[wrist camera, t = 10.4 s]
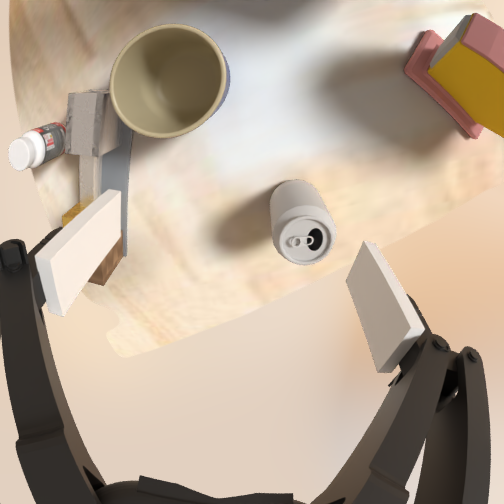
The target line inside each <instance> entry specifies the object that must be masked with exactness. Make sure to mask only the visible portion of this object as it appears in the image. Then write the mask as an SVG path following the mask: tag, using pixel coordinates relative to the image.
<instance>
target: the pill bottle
mask: <svg viewBox="0 0 504 504" xmlns="http://www.w3.org/2000/svg"><path fill="white" fill-rule="evenodd" d="M65 139H66V127H65V126H64V125H63V124H61V123H58V122H55V123H51V124H48V125H45V126H42V127H39V128H36V129H33V130H30V131H27V132H26V133H24V134H23V135H22V137H20V138H18V139H15V140H14V141H13V142H12V143H11V144H10V147H9V152H8V156H9V161H10V163H11V165H12V167H13V168H14V169H15V170H17V171H23V170H25V169H27V168H35V167H38V166H40V165H42V164H44V163H45V162H47V161H49V160H51V159H54V158H56V157H58V156H60V155H61V154H63V153H64V152H65Z"/></svg>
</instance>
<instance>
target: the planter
mask: <svg viewBox="0 0 504 504" xmlns="http://www.w3.org/2000/svg"><path fill="white" fill-rule="evenodd" d="M229 86H230V71H229V66H228V63H227V61H226V59H225V57H224V55H223V53H222V52H221V50H220V49H219V47H218V46H217V44H216V43H215V42H214V41H213V40H212V39H211V38H210V37H209V36H208V35H207V34H205V33H204V32H202V31H200V30H199V29H196V28H194V27H191V26H188V25H182V24H165V25H160V26H156V27H153V28H150V29H148V30H146V31H144V32H142V33H140V34H139V35H137V36H136V37H134V38H133V39H132V40H131V41H130V42H129V43H128V44H127V45H126V46H125V47H124V48H123V49H122V51H121V52H120V54H119V55H118V57H117V59H116V61H115V63H114V65H113V68H112V71H111V75H110V83H109V90H110V97H111V101H112V104H113V107H114V109H115V111H116V113H117V115H118V116H119V117H120V119H121V120H122V121H123V122H124V123H125V124H126V125H127V126H128V127H129V128H131V129H132V130H134V131H135V132H137V133H139V134H142V135H144V136H148V137H153V138H172V137H177V136H181V135H184V134H186V133H188V132H191V131H193V130H194V129H196V128H198V127H199V126H200V125H202V124H203V123H204V122H205V121H207V120H208V119H209V118H210V117H211V116H212V115H213V114H214V113H215V112H216V111H217V110H218V109H219V108H220V106H221V105H222V104H223V102H224V100H225V98H226V96H227V93H228V90H229Z"/></svg>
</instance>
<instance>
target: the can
mask: <svg viewBox="0 0 504 504" xmlns="http://www.w3.org/2000/svg"><path fill="white" fill-rule="evenodd" d="M269 205H270V217H271V228H272V238H273V243H274V246H275V248H276V249H277V251H278V253H279V254H281V255H282V256H283V257H284V258H286V259H287V260H288V261H290V262H292V263H295V264H298V265H310V264H314V263H317V262H319V261H321V260H322V259H323V258H325V257H326V256H327V255H328V254H329V252H330V251H331V249H332V246H333V245H334V242H335V239H336V225H335V223H334V221H333V218H332V216H331V214H330V212H329V211H328V209H327V207H326V205H325V203H324V201H323V199H322V197H321V196H320V194H319V192H318V190H317V189H316V188H315V187H314V186H313V185H312V184H310V183H308V182H306V181H304V180H297V179H295V180H289V181H286V182H284V183H282V184H280V185H279V186H278V187H277V188H276V189H275V190H274V192H273V194H272V196H271V198H270V204H269Z"/></svg>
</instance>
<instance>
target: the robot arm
mask: <svg viewBox="0 0 504 504" xmlns="http://www.w3.org/2000/svg"><path fill="white" fill-rule="evenodd" d="M120 237H121V191H117V190H111V189H108V190H107V191H106V192H104V193H103V194H102V195H101V196H99V197H98V198H97V199H96V200H95V201H93V202H92V203H91V204H90V205H89V206H88V207H86V208H85V209H84V210H83V211H82V212H81V213H79V214H78V215H77V216H76V217H75V218H74V219H73V220H72V221H70V222H69V223H68V224H67V225H66V226H65V227H64V228H62V227H59V228H57V229H55V230H53V231H51V232H50V233H49V234H48V235H47V236H46V237H45V239H43V240H42V241H41V242H40V243H39V244H37V245H36V246H35V247H34V248H33V249H32V250H31V251H30V252H29V253H28V254H27V251H26V247H25V243H24V241H22V240H19V239H11V240H8V241H5V242H3V243H2V244H1V245H0V338H1V337H2V348H3V358H4V366H5V373H6V379H7V385H8V391H9V396H10V400H11V405H12V410H13V415H14V418H15V423H16V426H17V430H18V434H19V439H18V440H17V441H16V451H17V455H18V458H19V461H20V464H21V467H22V469H23V472H24V475H25V478H26V480H27V483H28V486H29V488H30V490H31V492H32V495H33V498H34V500H35V502H36V504H305V503H303V502H300V501H297V500H293V493H289V494H288V493H285V494H276V493H275V494H274V493H270V494H269V493H254V494H249V495H243V496H236V497H228V498H213V497H210V496H207V495H204V494H202V493H199V492H196V491H193V490H191V489H189V488H186V487H184V486H182V485H179V484H176V483H170V482H166V481H161V480H157V479H153V478H149V477H144V476H140V477H139V481H123V482H117V483H113V484H110V485H106V483H105V481H104V479H103V478H102V476H101V474H100V472H99V471H98V469H97V468H96V466H95V464H94V463H93V461H92V460H91V458H90V456H89V454H88V452H87V449H86V447H85V446H84V443H83V441H82V438H81V436H80V434H79V431H78V429H77V427H76V424H75V422H74V419H73V417H72V414H71V411H70V409H69V406H68V403H67V400H66V398H65V395H64V392H63V389H62V386H61V383H60V379H59V376H58V373H57V369H56V366H55V362H54V359H53V355H52V351H51V347H50V343H49V339H48V334H47V330H46V325H45V321H44V315H43V312H42V308H41V307H42V306H43V304H44V303H45V302H46V303H47V307H48V310H49V312H50V313H53V314H56V315H59V316H62V317H64V315H65V314H66V312H67V311H68V309H69V308H70V306H71V305H72V303H73V302H74V300H75V299H76V297H77V295H78V294H79V293H80V291H81V290H82V288H83V287H84V285H85V284H86V283H87V281H88V280H89V278H90V277H91V276H92V274H93V273H94V271H95V270H96V269H97V267H98V266H99V265H100V263H101V262H102V260H103V259H104V258H105V256H106V255H107V254H108V252H109V251H110V250H111V249H112V247H113V246H114V245H115V243H116V242H117V241H118V239H119V238H120ZM346 283H347V286H348V288H349V291H350V294H351V296H352V299H353V302H354V304H355V307H356V310H357V313H358V316H359V318H360V321H361V324H362V327H363V330H364V333H365V336H366V339H367V342H368V345H369V348H370V351H371V354H372V357H373V360H374V363H375V366H376V370H377V372H378V373H379V372H380V373H391V372H392V371H393V370H394V369H395V368H396V366H397V365H398V364H399V366H400V369H401V371H400V372H399V374H398V375H397V376H396V377H395V378H394V379H393V381H392V382H391V383H390V384H389V385H388V386H389V387H390V386H391V385H392V386H391V388H390V390H389V392H388V394H387V396H386V398H385V399H384V401H383V403H382V405H381V407H380V409H379V410H378V412H377V414H376V416H375V417H374V419H373V421H372V423H371V424H370V426H369V428H368V429H367V431H366V432H365V434H364V436H363V437H362V439H361V441H360V442H359V444H358V445H357V447H356V448H355V450H354V451H353V453H352V454H351V456H350V457H349V459H348V460H347V462H346V463H345V465H344V466H343V467H342V469H341V470H340V472H339V473H338V474H337V476H336V477H335V478H334V480H333V481H332V482H331V484H330V485H329V486H328V488H327V489H326V490H325V491H324V492H323V493H322V494H320V495H319V496H318V497H317V498H316V499H315V500H314V501H312V502H311V504H406V503H407V501H408V498H409V492H408V491H407V490H406V489H405V485H406V483H407V481H408V479H409V476H410V474H411V472H412V470H413V468H414V466H415V463H416V461H417V459H418V456H419V454H420V451H421V449H422V446H423V444H424V441H425V439H426V443H425V450H424V456H423V463H422V468H421V473H420V479H419V484H418V489H417V493H416V497H415V501H414V504H488V496H489V485H490V465H491V464H490V463H491V443H490V441H491V440H490V419H489V407H488V397H487V389H486V381H485V375H484V368H483V362H482V359H481V357H480V355H479V353H478V352H477V351H476V350H475V349H473V348H471V347H468V346H467V347H464V348H463V350H462V351H461V352H460V353H456V352H454V351H451V350H450V347H449V344H448V343H447V342H446V340H444V339H443V338H442V337H441V336H438V335H436V334H432V332H431V330H430V328H429V327H428V325H427V323H426V321H425V319H424V317H423V316H422V314H421V312H420V310H419V309H418V306H417V305H416V303H415V301H414V300H413V299H412V298H411V297H410V296H409V295H408V294H406V293H405V291H404V289H403V288H402V286H401V284H400V283H399V281H398V279H397V278H396V276H395V274H394V272H393V271H392V269H391V268H390V266H389V264H388V263H387V261H386V259H385V258H384V256H383V255H382V253H381V251H380V250H379V248H378V247H377V245H376V244H375V243H371V242H367V241H363V244H362V246H361V248H360V250H359V253H358V255H357V257H356V259H355V262H354V264H353V266H352V268H351V270H350V273H349V275H348V277H347V279H346ZM457 391H458V393H457V395H456V397H455V393H456V392H457Z"/></svg>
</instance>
